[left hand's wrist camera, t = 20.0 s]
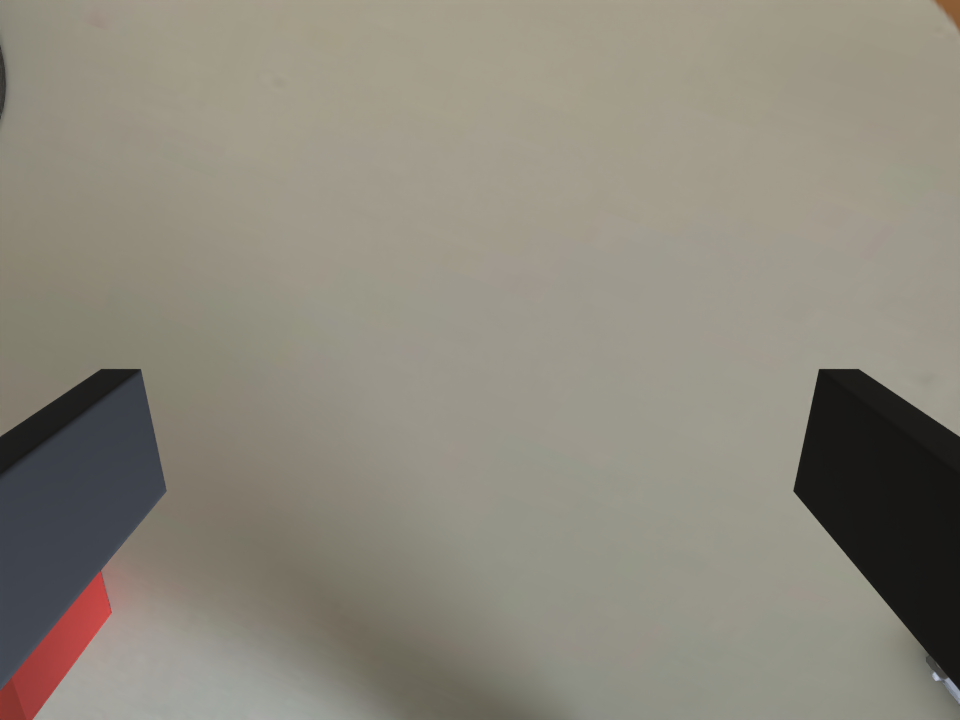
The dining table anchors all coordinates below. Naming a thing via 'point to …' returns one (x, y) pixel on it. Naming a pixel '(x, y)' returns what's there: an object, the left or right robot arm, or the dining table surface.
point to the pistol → (943, 678)
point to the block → (55, 654)
